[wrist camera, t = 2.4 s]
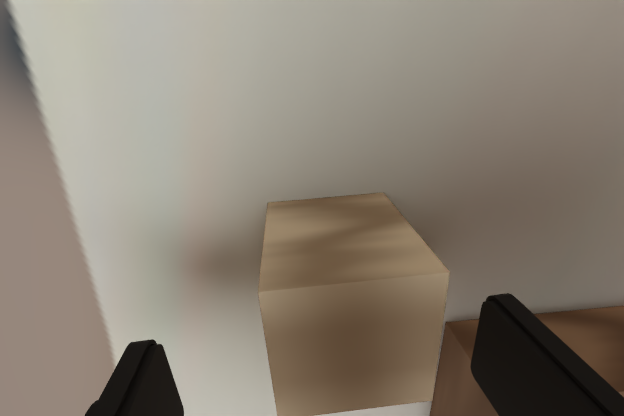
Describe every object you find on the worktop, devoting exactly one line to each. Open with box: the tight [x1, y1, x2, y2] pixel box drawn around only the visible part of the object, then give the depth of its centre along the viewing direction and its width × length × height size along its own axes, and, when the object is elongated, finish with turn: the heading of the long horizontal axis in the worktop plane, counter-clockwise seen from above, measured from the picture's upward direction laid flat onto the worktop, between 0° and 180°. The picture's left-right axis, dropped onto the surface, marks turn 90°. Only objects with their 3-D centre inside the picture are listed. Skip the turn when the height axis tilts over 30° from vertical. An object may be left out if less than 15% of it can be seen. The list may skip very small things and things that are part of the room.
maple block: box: [258, 193, 450, 416], centre depth 12 cm, size 5×5×6 cm
